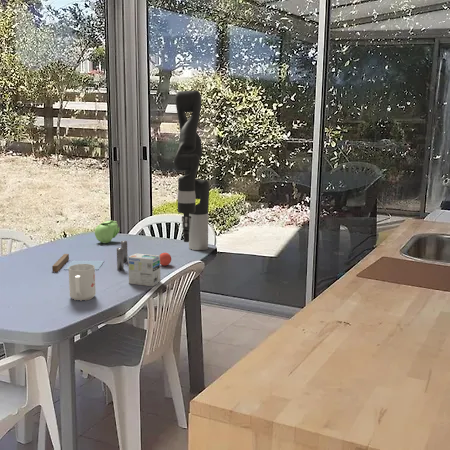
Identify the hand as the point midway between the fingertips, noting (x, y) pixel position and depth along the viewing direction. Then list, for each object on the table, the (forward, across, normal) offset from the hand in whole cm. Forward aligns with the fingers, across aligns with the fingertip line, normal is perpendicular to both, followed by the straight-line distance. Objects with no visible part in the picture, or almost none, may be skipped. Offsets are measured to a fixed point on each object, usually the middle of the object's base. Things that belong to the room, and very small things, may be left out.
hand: (186, 241), depth 242 cm
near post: (+11, -6, +27) cm, 30 cm away
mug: (+12, -44, +35) cm, 57 cm away
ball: (+8, 0, +9) cm, 12 cm away
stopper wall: (+11, 0, +53) cm, 54 cm away
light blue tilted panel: (+11, 0, +43) cm, 45 cm away
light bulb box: (+11, -25, +15) cm, 31 cm away
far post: (+11, +7, +27) cm, 30 cm away
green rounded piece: (+10, +43, +40) cm, 60 cm away
